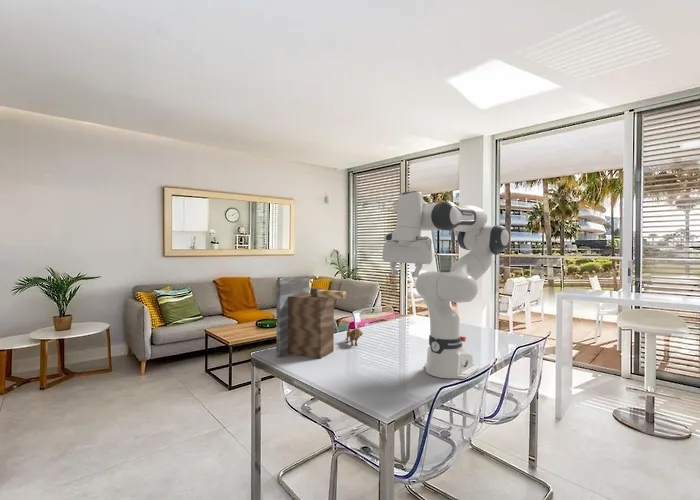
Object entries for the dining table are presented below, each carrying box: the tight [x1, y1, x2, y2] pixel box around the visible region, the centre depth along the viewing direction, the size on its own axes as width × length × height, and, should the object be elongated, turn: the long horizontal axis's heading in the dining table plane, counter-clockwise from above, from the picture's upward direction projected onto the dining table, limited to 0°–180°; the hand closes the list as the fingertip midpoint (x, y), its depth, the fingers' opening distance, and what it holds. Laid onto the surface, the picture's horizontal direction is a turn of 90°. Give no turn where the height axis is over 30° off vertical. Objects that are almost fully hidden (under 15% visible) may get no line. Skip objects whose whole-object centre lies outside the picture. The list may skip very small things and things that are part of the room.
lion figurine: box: [344, 327, 364, 347], centre depth 186 cm, size 15×5×9 cm, turn 29°
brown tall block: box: [276, 275, 335, 359], centre depth 171 cm, size 19×24×34 cm
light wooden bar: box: [310, 287, 347, 300], centre depth 166 cm, size 16×4×4 cm, turn 65°
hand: (404, 276), depth 130 cm, fingers open, 8 cm apart
